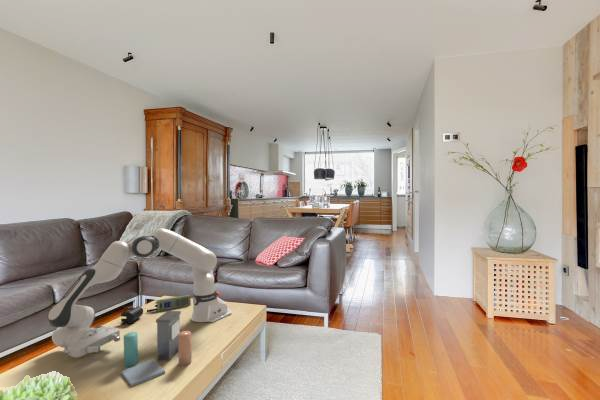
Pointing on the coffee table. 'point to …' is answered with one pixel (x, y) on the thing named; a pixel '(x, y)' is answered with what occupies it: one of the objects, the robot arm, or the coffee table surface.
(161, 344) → the block
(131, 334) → the teal canister
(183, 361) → the terracotta canister
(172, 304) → the handheld radio
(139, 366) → the mat
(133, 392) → the coffee table surface
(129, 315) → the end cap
